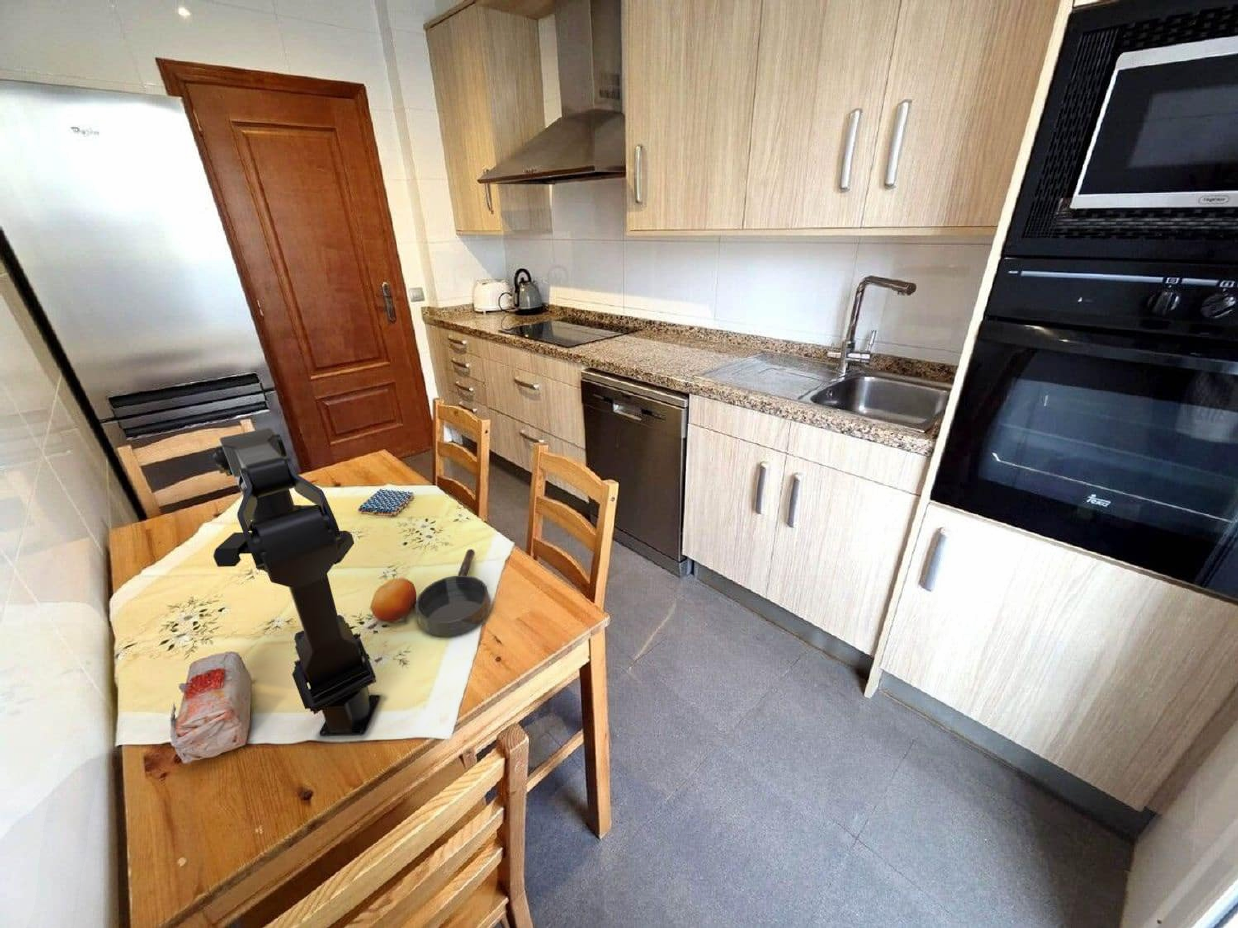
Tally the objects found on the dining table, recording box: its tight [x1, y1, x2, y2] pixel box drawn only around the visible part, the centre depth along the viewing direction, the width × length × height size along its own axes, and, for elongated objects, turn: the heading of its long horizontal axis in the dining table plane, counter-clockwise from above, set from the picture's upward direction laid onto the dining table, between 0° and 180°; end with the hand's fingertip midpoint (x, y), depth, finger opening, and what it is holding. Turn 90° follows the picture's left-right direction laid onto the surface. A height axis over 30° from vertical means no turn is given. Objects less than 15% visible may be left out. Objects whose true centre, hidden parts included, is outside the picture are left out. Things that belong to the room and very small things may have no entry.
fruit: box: [370, 577, 417, 624], centre depth 94 cm, size 8×8×8 cm
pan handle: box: [457, 548, 476, 576], centre depth 104 cm, size 10×2×2 cm, turn 3°
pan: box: [415, 575, 491, 638], centre depth 95 cm, size 13×13×4 cm
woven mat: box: [357, 488, 415, 517], centre depth 130 cm, size 10×11×2 cm
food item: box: [169, 651, 252, 765], centre depth 72 cm, size 14×8×10 cm, turn 31°
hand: (300, 589), depth 83 cm, fingers closed
